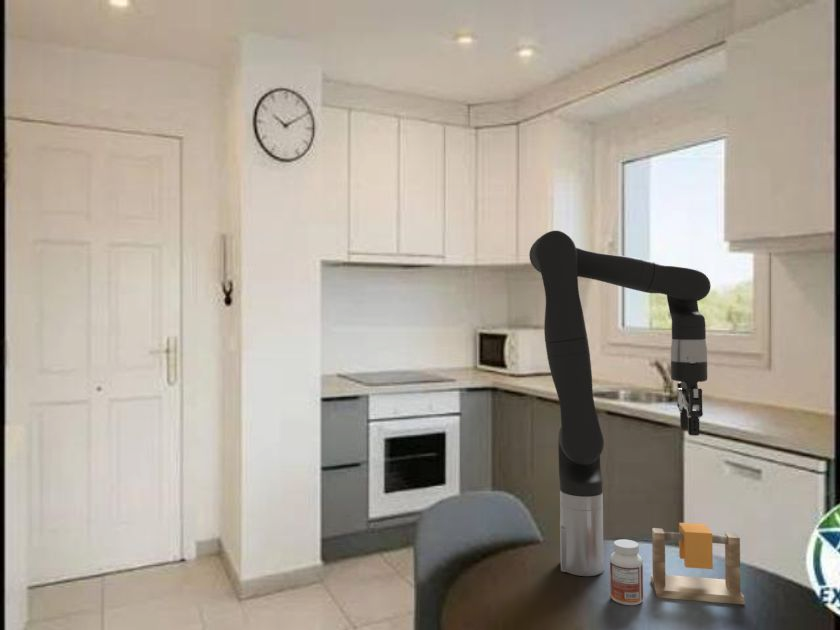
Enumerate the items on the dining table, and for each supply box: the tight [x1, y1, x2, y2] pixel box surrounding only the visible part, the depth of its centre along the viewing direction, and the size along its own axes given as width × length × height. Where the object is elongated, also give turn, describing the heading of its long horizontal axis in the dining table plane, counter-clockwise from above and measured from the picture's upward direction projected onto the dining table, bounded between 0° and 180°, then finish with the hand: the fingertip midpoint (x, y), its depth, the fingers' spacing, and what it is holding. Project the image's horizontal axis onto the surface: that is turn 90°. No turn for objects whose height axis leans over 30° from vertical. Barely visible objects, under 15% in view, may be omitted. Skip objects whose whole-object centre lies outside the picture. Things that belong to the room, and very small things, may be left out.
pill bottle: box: [609, 539, 644, 606], centre depth 123 cm, size 6×6×11 cm
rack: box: [650, 527, 745, 605], centre depth 126 cm, size 16×8×12 cm, turn 78°
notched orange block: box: [678, 522, 714, 570], centre depth 126 cm, size 5×6×7 cm
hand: (689, 431), depth 140 cm, fingers open, 8 cm apart
